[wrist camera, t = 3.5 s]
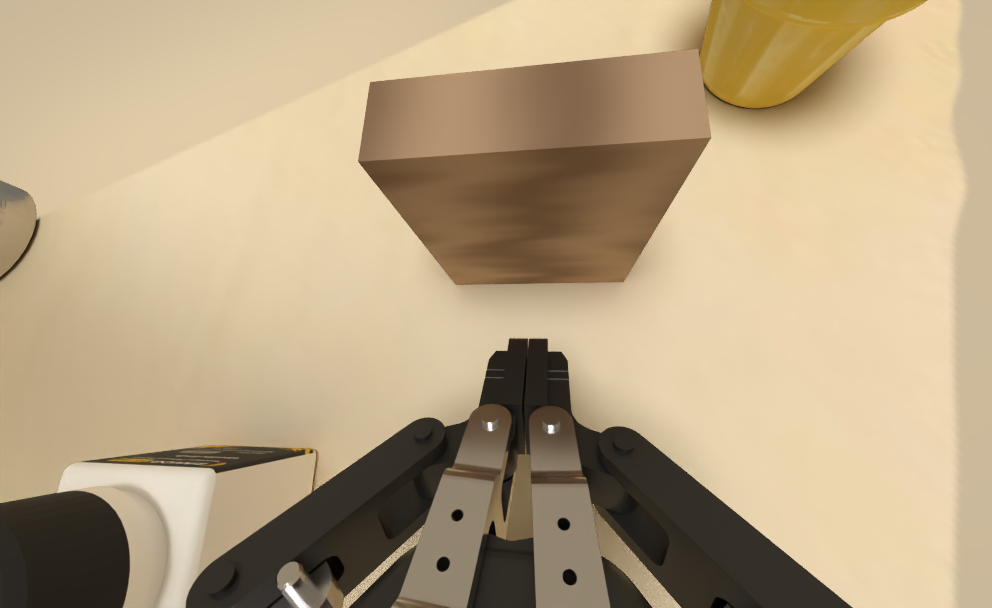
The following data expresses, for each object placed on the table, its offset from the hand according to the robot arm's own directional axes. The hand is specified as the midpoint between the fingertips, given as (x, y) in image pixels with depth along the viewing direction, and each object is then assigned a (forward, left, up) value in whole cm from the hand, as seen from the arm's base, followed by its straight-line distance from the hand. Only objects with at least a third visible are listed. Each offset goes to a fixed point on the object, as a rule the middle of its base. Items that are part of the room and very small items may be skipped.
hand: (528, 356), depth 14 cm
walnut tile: (0, +7, -6) cm, 9 cm away
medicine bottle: (-16, -8, -7) cm, 19 cm away
